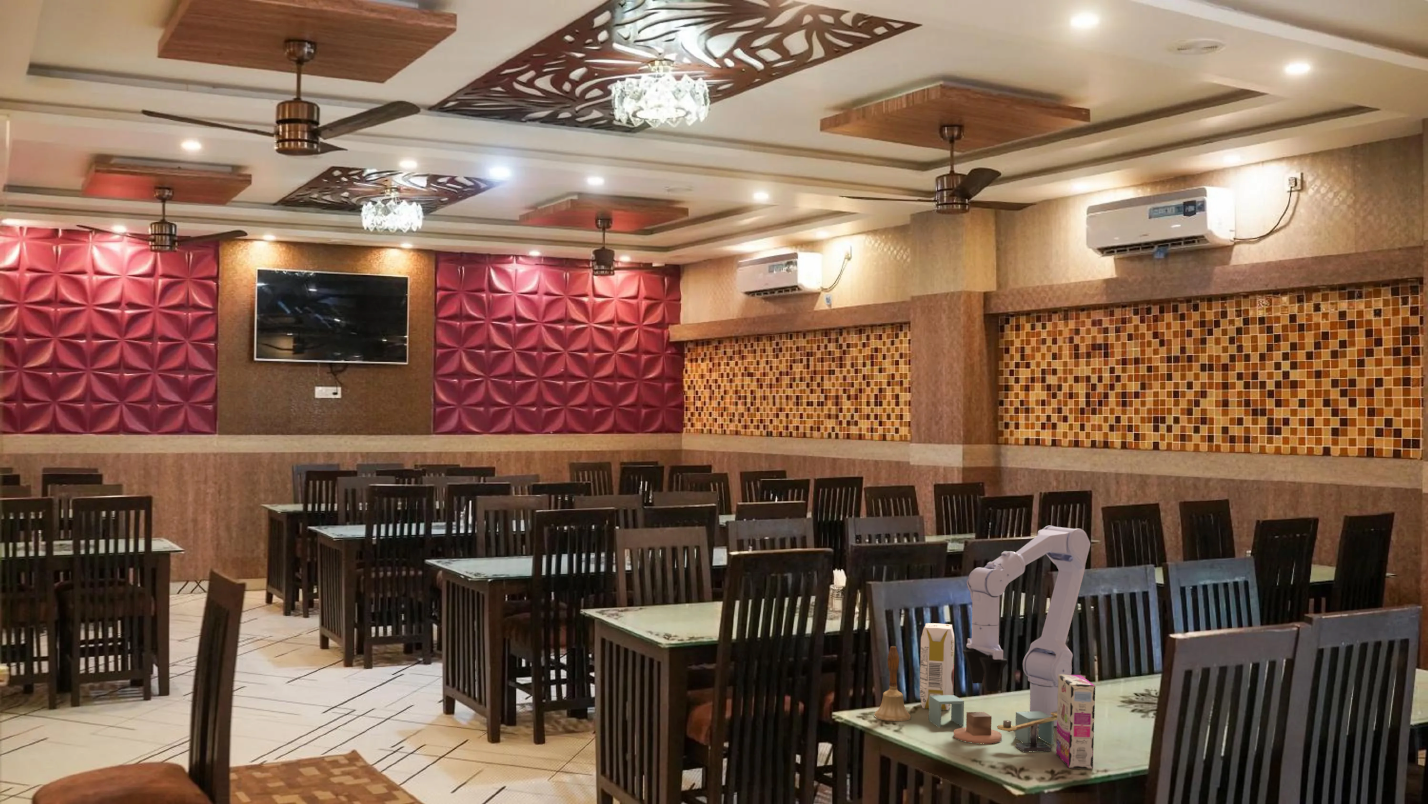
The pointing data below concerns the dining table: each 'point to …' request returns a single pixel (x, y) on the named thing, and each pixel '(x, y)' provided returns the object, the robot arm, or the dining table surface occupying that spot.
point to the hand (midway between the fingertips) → (984, 686)
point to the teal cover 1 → (956, 708)
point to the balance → (1033, 733)
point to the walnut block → (978, 723)
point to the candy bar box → (1075, 721)
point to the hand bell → (892, 694)
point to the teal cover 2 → (1044, 729)
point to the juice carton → (936, 662)
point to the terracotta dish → (985, 739)
